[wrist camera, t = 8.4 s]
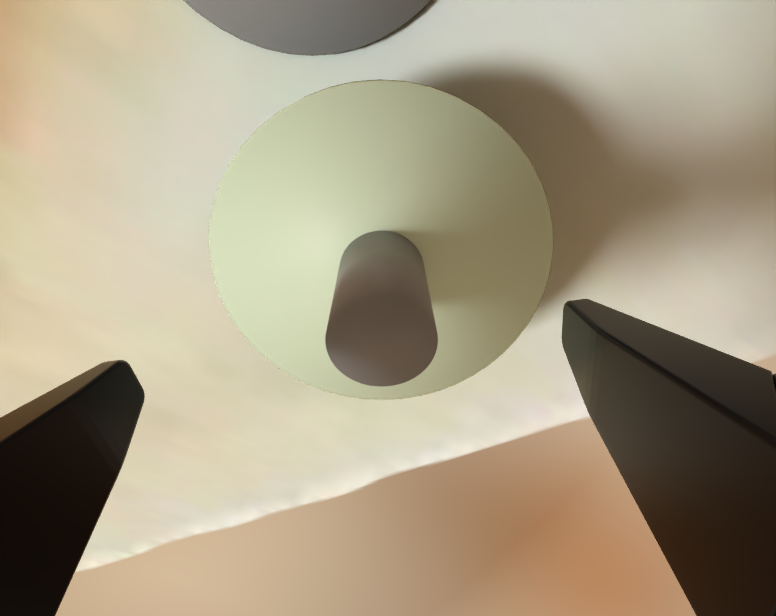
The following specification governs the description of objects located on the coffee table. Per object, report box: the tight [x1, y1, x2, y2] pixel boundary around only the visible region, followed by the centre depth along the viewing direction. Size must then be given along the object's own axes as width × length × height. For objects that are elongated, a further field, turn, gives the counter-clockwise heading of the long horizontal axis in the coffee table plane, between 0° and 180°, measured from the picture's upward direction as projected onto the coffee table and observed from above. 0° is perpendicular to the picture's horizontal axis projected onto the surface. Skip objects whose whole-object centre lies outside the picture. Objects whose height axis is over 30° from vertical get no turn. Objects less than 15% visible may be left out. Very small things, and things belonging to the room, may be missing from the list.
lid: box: [209, 80, 553, 400], centre depth 14 cm, size 12×12×5 cm
